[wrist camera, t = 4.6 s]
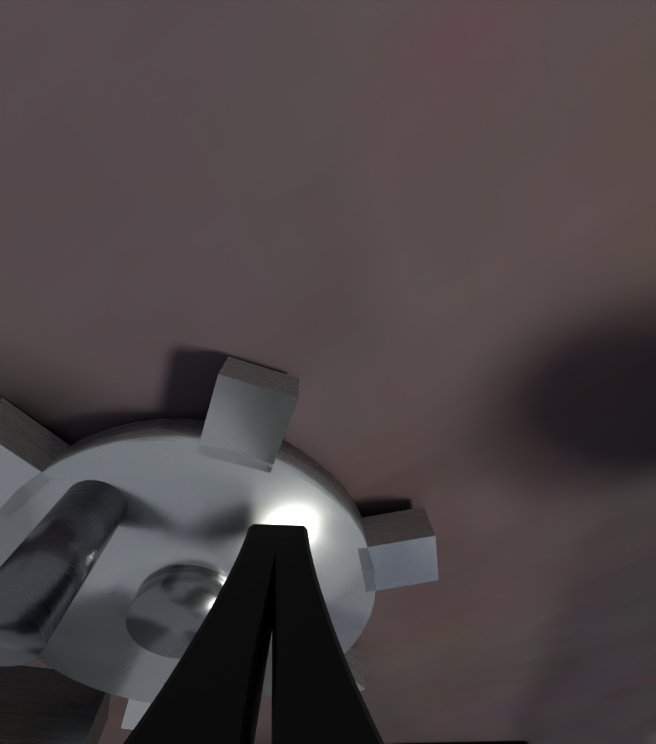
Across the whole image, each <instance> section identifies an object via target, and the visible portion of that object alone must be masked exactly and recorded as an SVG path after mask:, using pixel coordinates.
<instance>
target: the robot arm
mask: <svg viewBox="0 0 656 744" xmlns="http://www.w3.org/2000/svg"><path fill="white" fill-rule="evenodd" d="M271 634H272V744H384V742H383V740H382V738H381V736H380V734H379V732H378V730H377V728H376V726H375V724H374V722H373V720H372V717H371V715H370V713H369V711H368V709H367V706H366V704H365V702H364V700H363V698H362V696H361V693H360V691H359V689H358V686H357V684H356V682H355V679H354V677H353V675H352V672H351V670H350V668H349V665H348V663H347V660H346V658H345V655H344V653H343V650H342V648H341V645H340V642H339V640H338V637H337V635H336V632H335V629H334V626H333V624H332V621H331V618H330V615H329V612H328V609H327V606H326V603H325V600H324V597H323V594H322V591H321V588H320V584H319V581H318V578H317V574H316V570H315V566H314V563H313V558H312V554H311V549H310V544H309V537H308V529H307V528H306V527H305V526H304V525H275V524H253V525H251V526H250V527H249V528H248V531H247V534H246V537H245V540H244V542H243V545H242V547H241V549H240V552H239V554H238V556H237V558H236V561H235V563H234V565H233V567H232V569H231V571H230V573H229V575H228V577H227V579H226V581H225V583H224V585H223V586H222V588H221V590H220V592H219V594H218V596H217V598H216V599H215V601H214V603H213V605H212V607H211V609H210V611H209V612H208V614H207V616H206V618H205V619H204V621H203V623H202V624H201V626H200V628H199V629H198V631H197V633H196V634H195V636H194V638H193V639H192V641H191V643H190V644H189V646H188V648H187V649H186V651H185V653H184V654H183V656H182V658H181V659H180V661H179V662H178V664H177V665H176V667H175V669H174V670H173V672H172V673H171V675H170V676H169V678H168V679H167V681H166V682H165V684H164V686H163V687H162V689H161V690H160V692H159V693H158V695H157V696H156V697H155V699H154V700H153V702H152V703H151V705H150V706H149V708H148V709H147V711H146V712H145V714H144V715H143V717H142V718H141V719H140V721H139V722H138V724H137V725H136V727H135V728H134V729H133V731H132V732H131V734H130V735H129V736H128V738H127V739H126V741H125V742H124V743H123V744H254V739H255V733H256V727H257V721H258V715H259V708H260V702H261V696H262V690H263V684H264V677H265V671H266V665H267V659H268V653H269V646H270V640H271Z"/></svg>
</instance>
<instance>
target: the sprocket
mask: <svg viewBox="0 0 656 744" xmlns="http://www.w3.org/2000/svg"><path fill="white" fill-rule="evenodd" d="M298 392H299V378H296V377H293V376H290V375H287V374H283V373H280V372H277V371H274V370H271V369H267V368H264V367H261V366H258V365H254V364H251V363H248V362H245V361H242V360H238V359H235V358H232V357H229V356H228V358H227V359H226V361H225V363H224V365H223V366H222V368H221V370H220V372H219V373H218V376H217V380H216V384H215V387H214V391H213V395H212V398H211V402H210V406H209V409H208V413H207V417H206V420H198V419H156V420H147V421H139V422H133V423H129V424H124V425H120V426H116V427H112V428H108V429H106V430H103V431H100V432H98V433H95V434H93V435H90V436H87V437H85V438H83V439H81V440H79V441H78V442H76V443H74V444H72V445H70V446H69V445H68V444H67V443H65V442H64V441H62V440H61V439H60V438H58V437H57V436H55V435H54V434H53V433H51V432H50V431H48V430H47V429H46V428H44V427H43V426H41V425H40V424H39V423H37V422H36V421H34V420H33V419H32V418H30V417H29V416H27V415H26V414H25V413H23V412H22V411H20V410H19V409H18V408H16V407H15V406H13V405H12V404H11V403H9V402H8V401H6V400H5V399H4V398H0V666H18V665H23V664H26V663H29V662H31V661H33V660H35V659H36V658H38V659H39V660H41V661H42V662H44V663H45V664H47V665H48V666H50V667H51V668H53V669H54V670H56V671H58V672H60V673H62V674H64V675H66V676H67V677H69V678H71V679H73V680H75V681H78V682H80V683H82V684H85V685H87V686H89V687H92V688H94V689H97V690H100V691H104V692H107V693H110V694H113V695H116V696H120V697H124V698H128V699H129V701H128V704H127V708H126V712H125V715H124V719H123V723H122V726H121V728H123V729H131V730H133V729H134V728H135V727H136V725H137V724H138V722H139V721H140V719H141V718H142V717H143V715H144V714H145V712H146V711H147V709H148V708H149V706H150V705H151V703H152V702H153V700H154V699H155V697H156V696H157V695H158V693H159V692H160V690H161V689H162V687H163V686H164V684H165V682H166V681H167V679H168V678H169V676H170V675H171V673H172V672H173V670H174V669H175V667H176V665H177V664H178V662H179V661H180V659H181V658H182V656H183V654H184V653H185V651H186V649H187V648H188V646H189V644H190V643H191V641H192V639H193V638H194V636H195V634H196V633H197V631H198V629H199V628H200V626H201V624H202V623H203V621H204V619H205V618H206V616H207V614H208V612H209V611H210V609H211V607H212V605H213V603H214V601H215V599H216V598H217V596H218V594H219V592H220V590H221V588H222V586H223V585H224V583H225V581H226V579H227V577H228V575H229V573H230V571H231V569H232V567H233V565H234V563H235V561H236V558H237V556H238V554H239V552H240V549H241V547H242V545H243V542H244V540H245V537H246V534H247V531H248V528H249V527H250V526H251V525H253V524H275V525H304V526H305V527H306V528H307V529H308V537H309V544H310V549H311V554H312V558H313V563H314V566H315V570H316V574H317V578H318V581H319V584H320V588H321V591H322V594H323V597H324V600H325V603H326V606H327V609H328V612H329V615H330V618H331V621H332V624H333V626H334V629H335V632H336V635H337V637H338V640H339V642H340V645H341V648H342V650H343V653H344V655H345V658H346V660H347V663H348V665H349V668H350V670H351V672H352V675H353V677H354V679H355V682H356V684H357V686H358V689H359V691H362V690H364V689H366V688H365V680H364V672H363V664H362V656H361V654H360V653H359V652H357V651H356V650H355V649H353V648H352V645H353V644H354V643H355V641H356V640H357V639H358V637H359V636H360V634H361V633H362V631H363V629H364V627H365V625H366V623H367V621H368V619H369V617H370V614H371V611H372V607H373V604H374V598H375V591H377V590H383V589H389V588H395V587H401V586H407V585H413V584H419V583H425V582H431V581H437V580H439V579H438V566H437V552H436V539H435V534H434V531H433V529H432V526H431V524H430V521H429V519H428V516H427V514H426V511H425V509H424V507H420V508H415V509H409V510H403V511H397V512H391V513H386V514H380V515H374V516H368V517H362V516H361V514H360V512H359V510H358V508H357V506H356V504H355V503H354V501H353V500H352V498H351V497H350V495H349V494H348V492H347V491H346V489H345V488H344V487H343V486H342V485H341V484H340V483H339V482H338V481H337V480H336V479H335V477H334V476H333V475H332V474H331V473H330V472H328V471H327V470H326V469H325V468H323V467H322V466H321V465H320V464H319V463H317V462H316V461H315V460H314V459H312V458H310V457H309V456H307V455H306V454H304V453H302V452H301V451H299V450H298V449H296V448H294V447H293V446H291V445H288V444H286V443H284V442H282V440H283V437H284V435H285V432H286V429H287V427H288V424H289V421H290V419H291V416H292V413H293V411H294V408H295V405H296V403H297V400H298ZM270 695H272V634H271V640H270V646H269V653H268V659H267V665H266V671H265V677H264V684H263V690H262V696H261V698H263V697H266V696H270Z"/></svg>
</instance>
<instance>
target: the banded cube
mask: <svg viewBox="0 0 656 744" xmlns="http://www.w3.org/2000/svg"><path fill="white" fill-rule="evenodd" d="M110 695H111V694H110V693H107V692H104V691H100V690H97V689H94V688H92V687H89V686H87V685H85V684H82V683H80V682H78V681H75V680H73V679H71V678H69V677H67V676H66V675H64V674H62V673H60V672H58V671H56V670H54V669H48V668H38V667H29V666H20V665H18V666H0V744H98V741H99V739H100V736H101V734H102V731H103V729H104V726H105V724H106V721H107V718H108V710H109V703H110Z"/></svg>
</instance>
